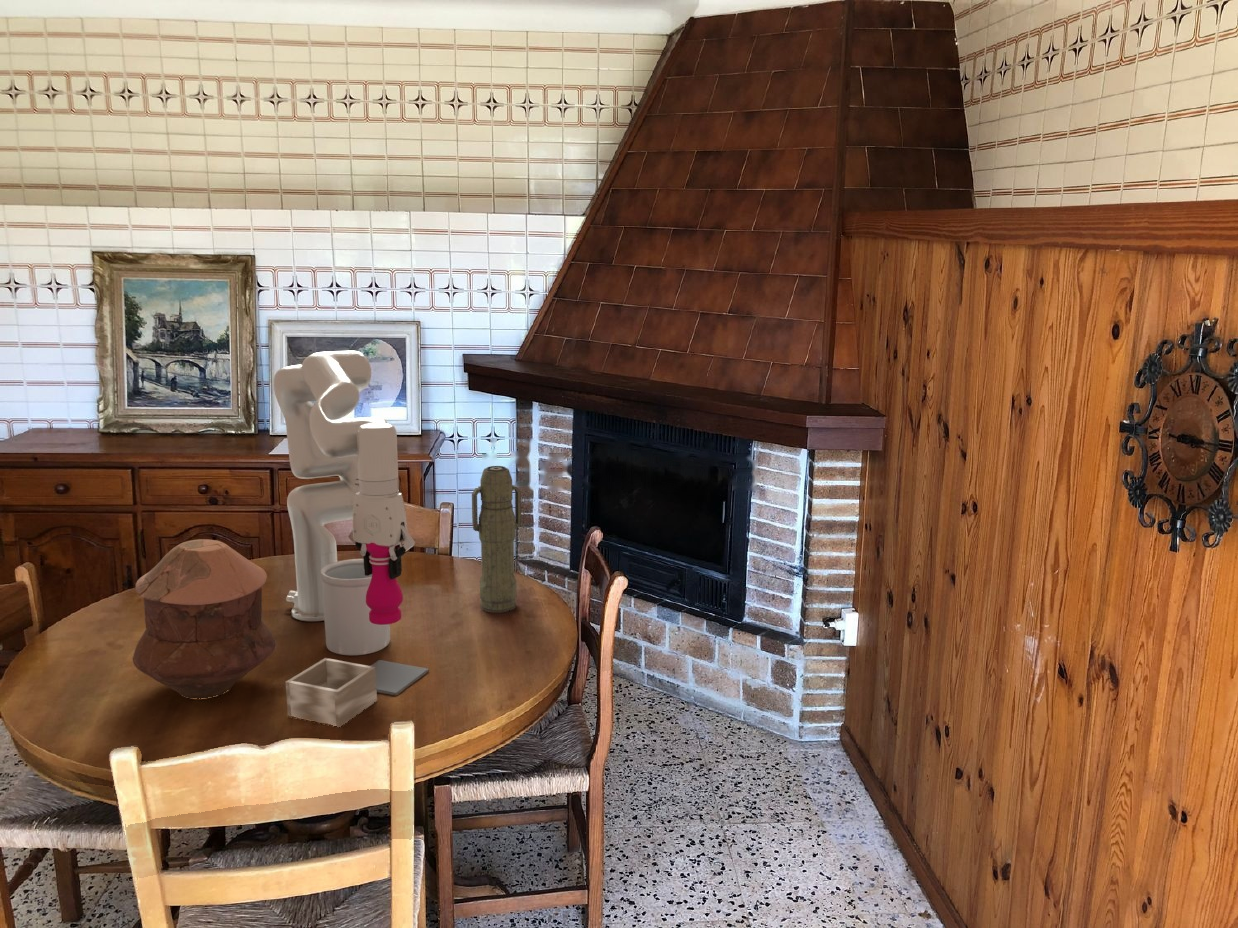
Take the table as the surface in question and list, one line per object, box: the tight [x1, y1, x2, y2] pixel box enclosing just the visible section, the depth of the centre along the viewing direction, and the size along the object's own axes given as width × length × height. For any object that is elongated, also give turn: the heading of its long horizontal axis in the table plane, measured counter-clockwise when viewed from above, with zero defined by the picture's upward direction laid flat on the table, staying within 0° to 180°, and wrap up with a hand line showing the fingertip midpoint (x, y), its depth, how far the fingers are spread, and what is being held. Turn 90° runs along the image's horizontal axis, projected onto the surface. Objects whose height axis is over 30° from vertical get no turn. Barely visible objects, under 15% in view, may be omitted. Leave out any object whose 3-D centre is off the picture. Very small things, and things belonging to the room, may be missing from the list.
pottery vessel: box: [132, 538, 276, 699], centre depth 184 cm, size 26×26×30 cm
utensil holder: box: [321, 558, 391, 656], centre depth 209 cm, size 15×15×18 cm
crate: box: [285, 657, 378, 728], centre depth 179 cm, size 12×12×7 cm
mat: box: [370, 659, 429, 696], centre depth 193 cm, size 12×12×1 cm
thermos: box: [471, 465, 522, 614], centre depth 230 cm, size 9×12×35 cm
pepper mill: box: [366, 543, 404, 625], centre depth 188 cm, size 7×7×20 cm
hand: (383, 574), depth 188 cm, fingers closed on pepper mill, 5 cm apart
